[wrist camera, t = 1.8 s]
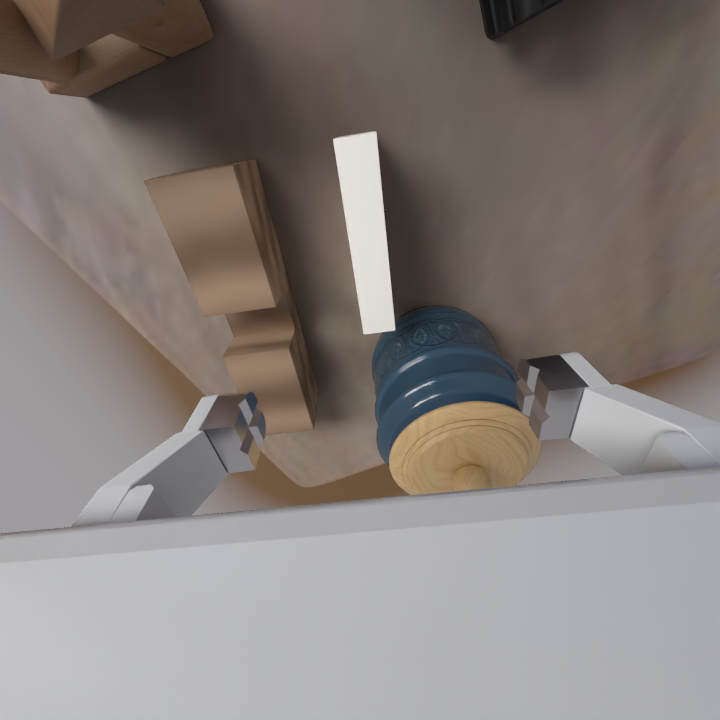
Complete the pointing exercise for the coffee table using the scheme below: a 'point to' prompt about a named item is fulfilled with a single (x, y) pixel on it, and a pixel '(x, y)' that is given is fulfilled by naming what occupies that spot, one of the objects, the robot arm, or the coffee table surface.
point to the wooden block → (95, 39)
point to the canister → (448, 406)
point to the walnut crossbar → (242, 284)
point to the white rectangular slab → (366, 228)
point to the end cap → (510, 14)
